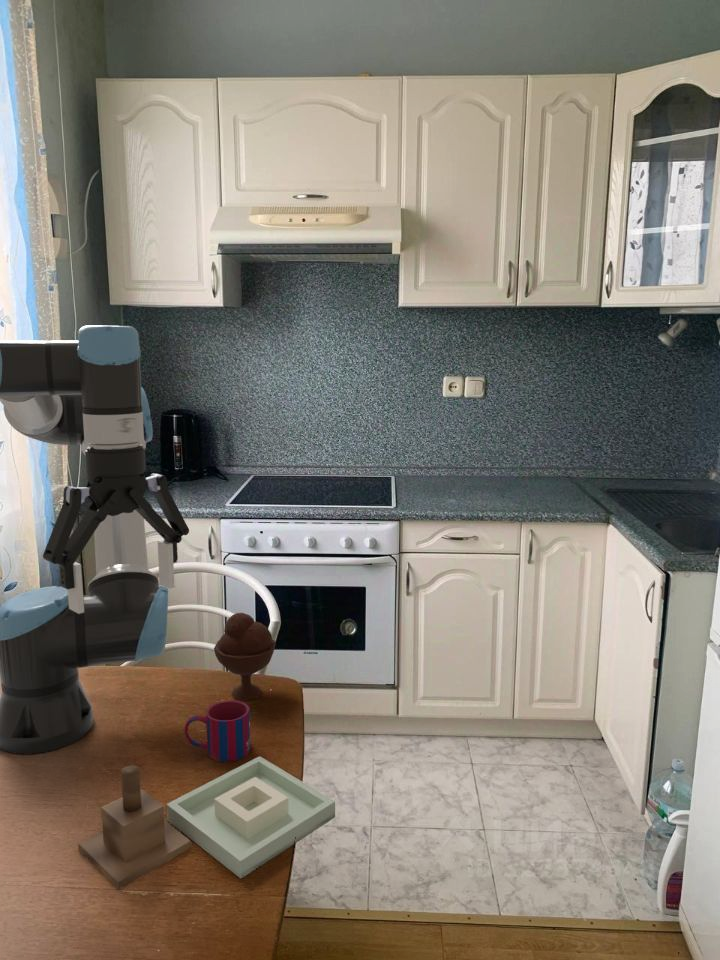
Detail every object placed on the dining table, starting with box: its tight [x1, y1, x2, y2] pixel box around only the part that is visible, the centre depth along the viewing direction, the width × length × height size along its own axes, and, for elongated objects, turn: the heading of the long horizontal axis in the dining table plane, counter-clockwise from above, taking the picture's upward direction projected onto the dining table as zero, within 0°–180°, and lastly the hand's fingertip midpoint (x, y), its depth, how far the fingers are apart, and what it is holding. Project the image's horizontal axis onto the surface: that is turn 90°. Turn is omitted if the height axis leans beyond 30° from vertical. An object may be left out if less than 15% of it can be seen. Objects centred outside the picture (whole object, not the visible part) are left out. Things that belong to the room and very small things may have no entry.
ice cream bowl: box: [213, 612, 277, 702], centre depth 134 cm, size 11×11×15 cm
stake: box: [77, 764, 192, 890], centre depth 93 cm, size 10×10×11 cm
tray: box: [166, 756, 336, 879], centre depth 100 cm, size 16×16×2 cm
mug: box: [184, 700, 251, 763], centre depth 116 cm, size 7×10×7 cm
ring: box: [214, 777, 288, 839], centre depth 100 cm, size 7×7×2 cm
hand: (124, 597), depth 102 cm, fingers open, 13 cm apart
